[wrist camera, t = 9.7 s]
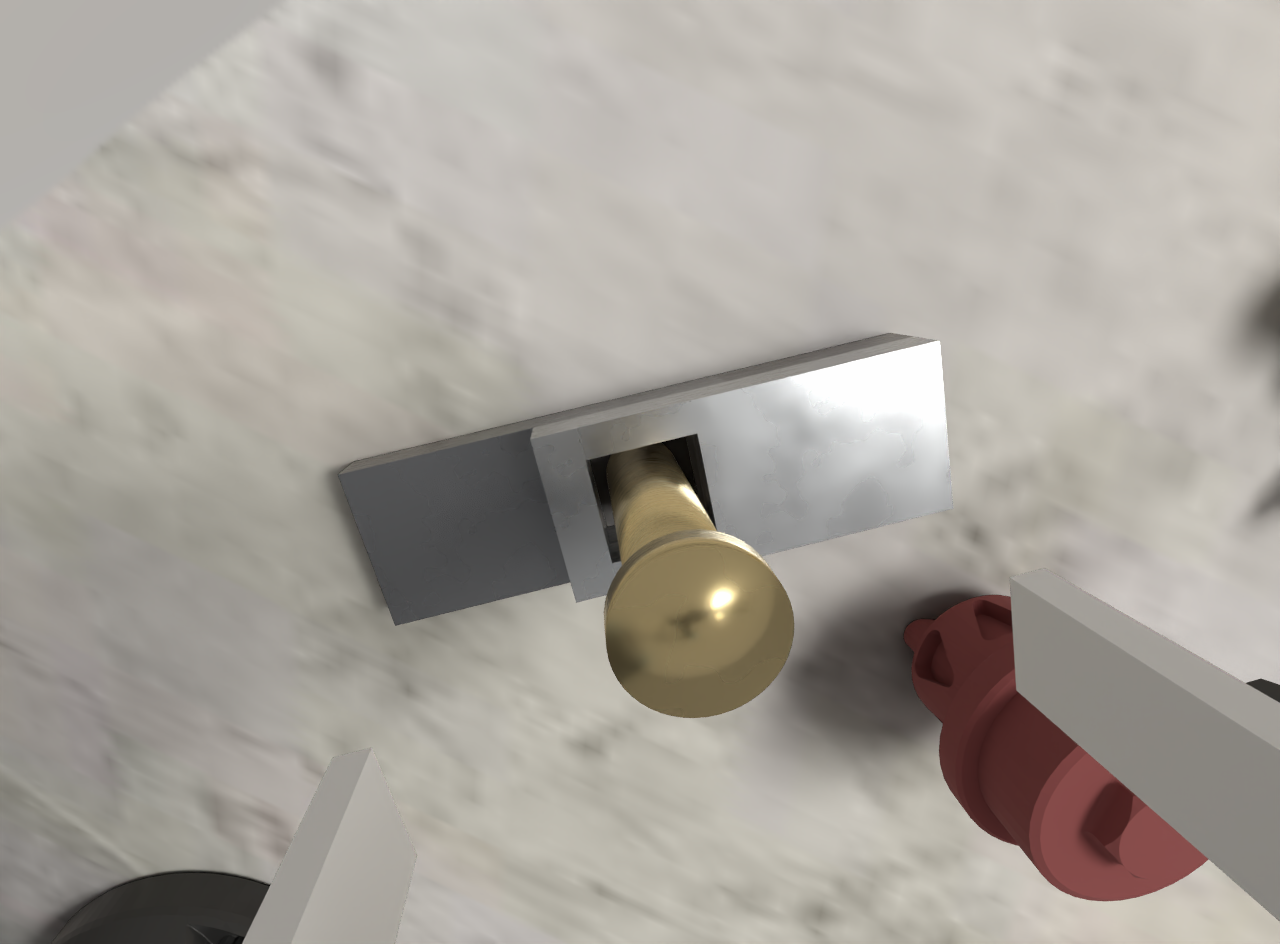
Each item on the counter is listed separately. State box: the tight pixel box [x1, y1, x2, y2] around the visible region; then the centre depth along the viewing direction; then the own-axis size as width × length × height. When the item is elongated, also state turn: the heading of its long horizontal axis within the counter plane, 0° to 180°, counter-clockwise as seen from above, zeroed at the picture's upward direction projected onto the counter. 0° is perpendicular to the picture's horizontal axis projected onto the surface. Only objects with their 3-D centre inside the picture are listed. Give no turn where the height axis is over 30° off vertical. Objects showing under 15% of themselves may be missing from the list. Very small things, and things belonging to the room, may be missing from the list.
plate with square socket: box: [338, 333, 953, 626], centre depth 27 cm, size 24×7×4 cm, turn 103°
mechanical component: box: [904, 595, 1208, 901], centre depth 28 cm, size 12×10×10 cm
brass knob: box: [604, 442, 794, 718], centre depth 22 cm, size 5×5×14 cm
